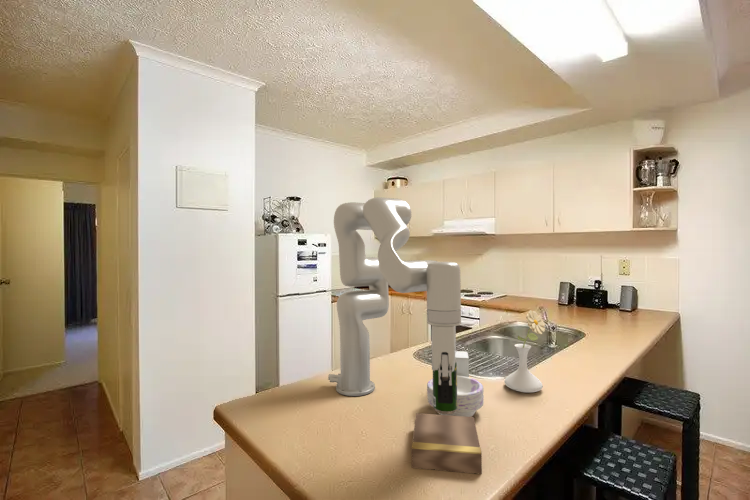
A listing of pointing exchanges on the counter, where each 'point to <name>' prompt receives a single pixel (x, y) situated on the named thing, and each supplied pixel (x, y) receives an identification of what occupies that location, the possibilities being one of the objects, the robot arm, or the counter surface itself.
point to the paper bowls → (463, 396)
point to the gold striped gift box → (446, 443)
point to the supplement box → (462, 363)
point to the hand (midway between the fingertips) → (445, 396)
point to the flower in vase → (522, 376)
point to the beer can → (438, 407)
